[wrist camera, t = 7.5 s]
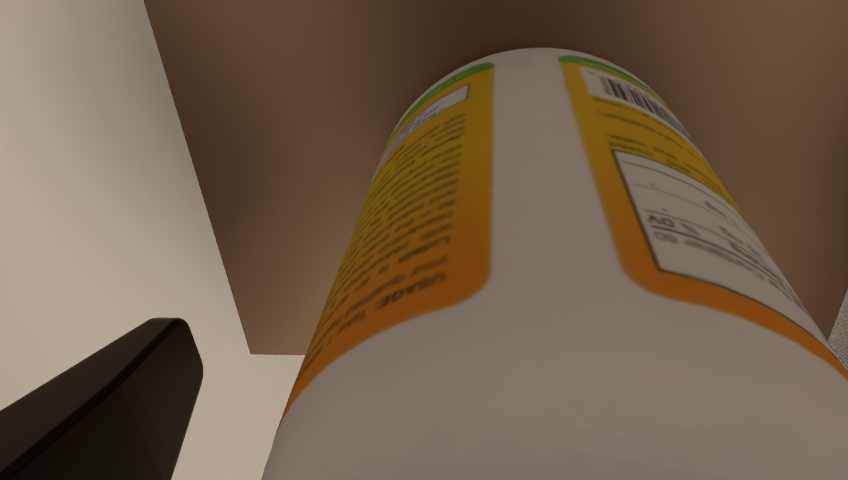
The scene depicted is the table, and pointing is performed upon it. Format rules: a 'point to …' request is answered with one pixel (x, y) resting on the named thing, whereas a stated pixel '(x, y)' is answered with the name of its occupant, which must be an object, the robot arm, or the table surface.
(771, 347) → the supplement bottle
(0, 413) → the robot arm
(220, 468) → the table surface
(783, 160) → the block
